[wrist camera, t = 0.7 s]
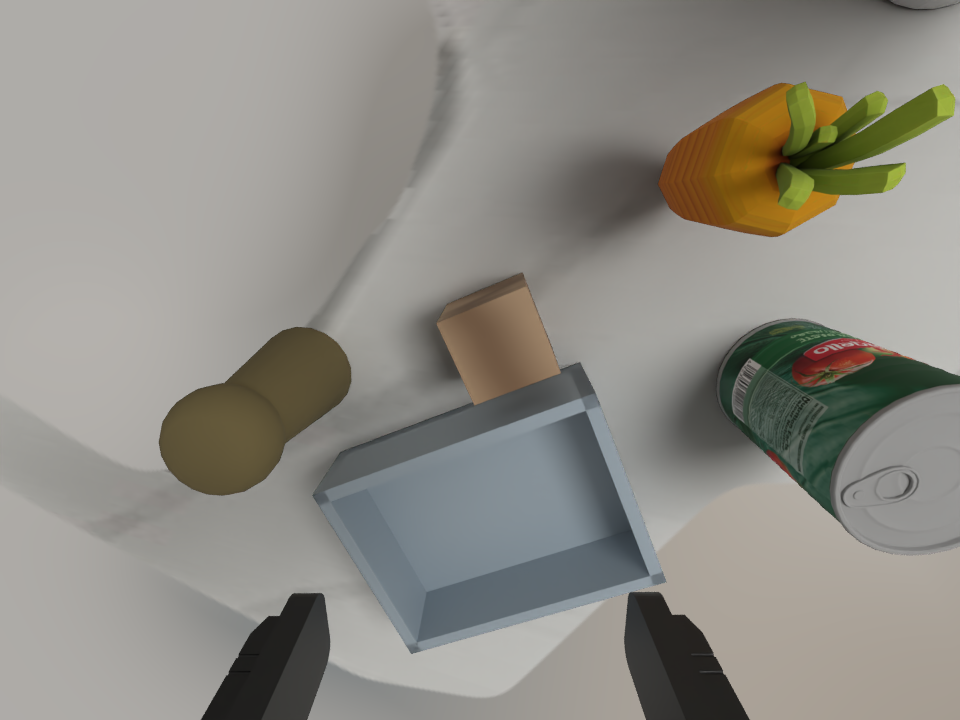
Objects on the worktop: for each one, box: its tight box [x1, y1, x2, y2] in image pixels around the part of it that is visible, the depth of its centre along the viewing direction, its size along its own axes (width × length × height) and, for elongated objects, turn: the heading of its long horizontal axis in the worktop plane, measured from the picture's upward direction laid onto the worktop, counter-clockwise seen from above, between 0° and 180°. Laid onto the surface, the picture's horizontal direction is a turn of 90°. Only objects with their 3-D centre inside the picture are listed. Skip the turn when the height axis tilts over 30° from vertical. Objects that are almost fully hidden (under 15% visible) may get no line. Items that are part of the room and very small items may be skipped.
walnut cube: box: [436, 273, 561, 405], centre depth 26 cm, size 5×5×5 cm
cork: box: [159, 327, 351, 495], centre depth 25 cm, size 6×6×11 cm
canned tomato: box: [716, 319, 960, 555], centre depth 23 cm, size 8×8×11 cm
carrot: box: [658, 82, 955, 237], centre depth 18 cm, size 5×5×15 cm
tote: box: [312, 363, 666, 654], centre depth 30 cm, size 18×14×5 cm
